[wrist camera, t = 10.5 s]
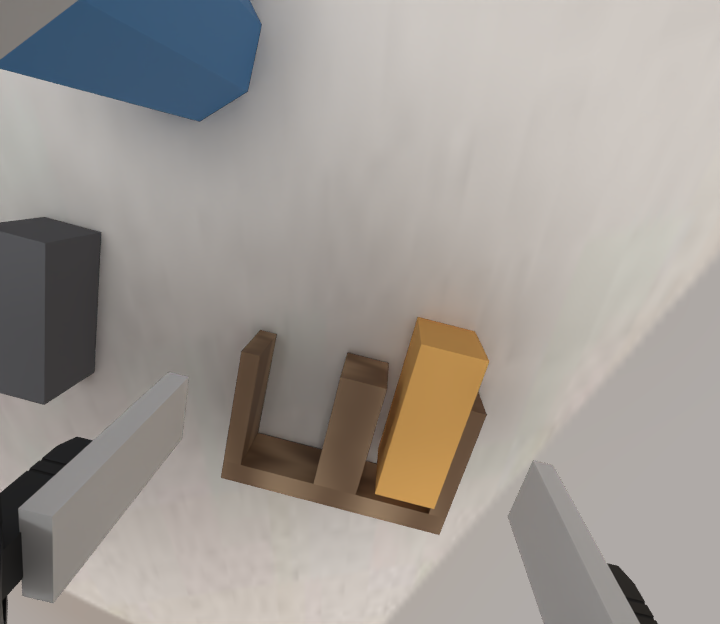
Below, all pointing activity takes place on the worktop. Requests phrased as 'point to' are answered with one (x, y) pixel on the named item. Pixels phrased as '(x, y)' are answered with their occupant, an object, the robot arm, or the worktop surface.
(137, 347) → the worktop surface
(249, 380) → the bronze desk organizer
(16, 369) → the tall gray prism
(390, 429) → the tall orange brick
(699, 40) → the worktop surface
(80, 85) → the blue water bottle
